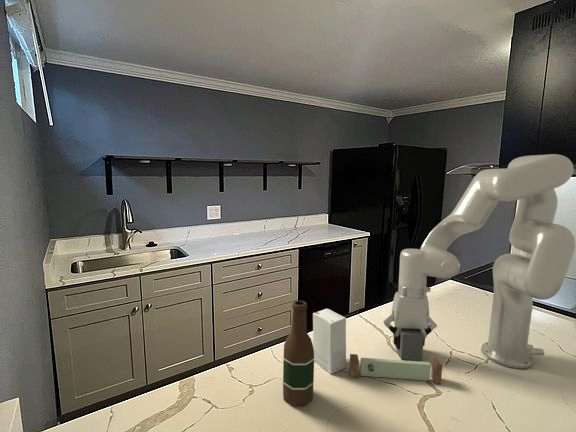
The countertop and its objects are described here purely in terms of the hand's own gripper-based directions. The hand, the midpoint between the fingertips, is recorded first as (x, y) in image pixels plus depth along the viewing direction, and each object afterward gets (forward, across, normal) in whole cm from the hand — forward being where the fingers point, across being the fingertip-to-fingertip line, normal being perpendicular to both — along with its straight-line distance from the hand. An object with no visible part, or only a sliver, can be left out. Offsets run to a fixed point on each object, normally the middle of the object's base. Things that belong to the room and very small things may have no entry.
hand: (408, 346), depth 94 cm
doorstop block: (+2, 0, 0) cm, 2 cm away
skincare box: (+2, +25, +8) cm, 26 cm away
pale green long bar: (+2, +7, +12) cm, 14 cm away
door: (+2, +7, +12) cm, 14 cm away
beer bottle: (+2, +33, +22) cm, 39 cm away
